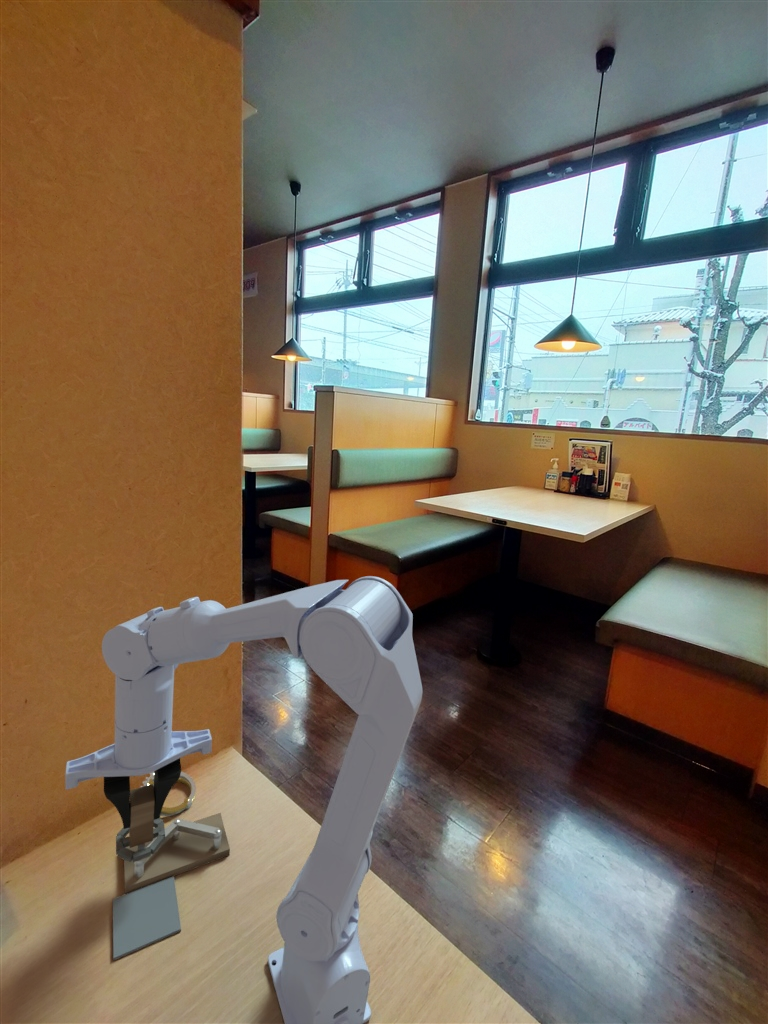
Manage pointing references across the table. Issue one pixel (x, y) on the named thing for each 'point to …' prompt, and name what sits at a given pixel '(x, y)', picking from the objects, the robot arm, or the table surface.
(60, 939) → the table surface
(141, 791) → the ring wand
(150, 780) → the ring
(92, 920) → the table surface
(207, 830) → the bent wire
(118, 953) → the mat
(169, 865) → the base
